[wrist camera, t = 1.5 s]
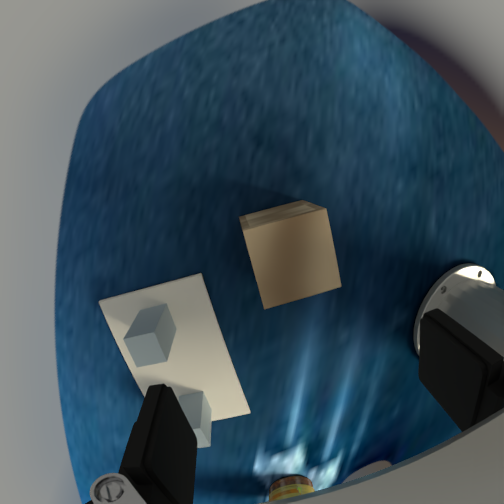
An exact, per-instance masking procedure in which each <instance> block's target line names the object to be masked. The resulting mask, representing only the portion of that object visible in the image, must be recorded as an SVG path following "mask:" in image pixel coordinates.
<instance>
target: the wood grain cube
mask: <svg viewBox="0 0 504 504" xmlns="http://www.w3.org/2000/svg"><path fill="white" fill-rule="evenodd" d="M239 219H240V223H241V227H242V230H243V234H244V237H245V241H246V245H247V248H248V252H249V256H250V259H251V263H252V266H253V270H254V274H255V277H256V281H257V285H258V288H259V292H260V295H261V299H262V303H263V306H264V309H267V308H271V307H275V306H278V305H282V304H285V303H289V302H292V301H295V300H299V299H302V298H306V297H309V296H312V295H316V294H319V293H322V292H326V291H329V290H332V289H335V288H339V287H341V281H340V275H339V270H338V264H337V259H336V254H335V249H334V244H333V239H332V234H331V229H330V224H329V219H328V215H327V210H326V208H323V207H321V206H318V205H315V204H312V203H310V202H307V201H304V200H300V201H296V202H292V203H289V204H285V205H281V206H277V207H273V208H270V209H266V210H262V211H258V212H255V213H251V214H247V215H244V216H240V217H239Z"/></svg>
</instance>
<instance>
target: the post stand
mask: <svg viewBox="0 0 504 504" xmlns="http://www.w3.org/2000/svg"><path fill="white" fill-rule="evenodd" d="M99 304H100V307H101V309H102V311H103V314H104V316H105V318H106V321H107V323H108V325H109V327H110V330H111V332H112V334H113V336H114V338H115V340H116V343H117V345H118V347H119V349H120V351H121V353H122V355H123V357H124V359H125V361H126V363H127V365H128V367H129V369H130V371H131V373H132V375H133V377H134V379H135V380H136V382H137V384H138V386H139V388H140V390H141V392H142V393H143V395H144V397H145V395H146V392H147V389H148V387H149V386H150V385H157V384H163V383H164V384H165V385H166V386H167V387H169V386H170V387H171V388H172V389H173V391H174V394H175V396H176V398H177V400H178V402H179V404H180V406H181V408H182V410H183V412H184V414H185V416H186V418H187V420H188V422H189V424H190V425H191V427H192V429H193V431H194V433H195V435H196V438H197V448H202V447H208V446H210V442H211V421H215V420H220V419H225V418H230V417H235V416H240V415H244V414H249V413H250V409H249V406H248V404H247V401H246V398H245V396H244V393H243V390H242V388H241V385H240V383H239V380H238V377H237V374H236V372H235V369H234V366H233V364H232V361H231V358H230V355H229V353H228V350H227V347H226V344H225V341H224V339H223V336H222V333H221V330H220V327H219V324H218V321H217V318H216V316H215V313H214V310H213V307H212V304H211V301H210V298H209V295H208V292H207V289H206V286H205V283H204V280H203V277H202V273H199V274H195V275H192V276H188V277H184V278H181V279H177V280H173V281H170V282H166V283H162V284H159V285H155V286H151V287H147V288H144V289H140V290H136V291H133V292H129V293H125V294H121V295H118V296H114V297H110V298H107V299H103V300H100V301H99Z"/></svg>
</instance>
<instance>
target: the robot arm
mask: <svg viewBox="0 0 504 504" xmlns="http://www.w3.org/2000/svg"><path fill="white" fill-rule="evenodd" d="M413 340H414V346H415V349H416V352H417V354H418V355H419V379H420V381H421V382H422V384H423V385H424V386H425V387H426V388H427V389H428V391H429V392H430V393H431V394H432V395H433V397H434V398H435V399H436V400H437V401H438V403H439V404H440V405H441V406H442V407H443V409H444V410H445V411H446V412H447V413H448V415H449V416H450V417H451V418H452V420H453V421H454V422H455V423H456V425H457V426H458V427H459V428H460V429H461V431H462V433H460V434H458V435H456V436H454V437H452V438H451V439H449V440H447V441H445V442H443V443H441V444H439V445H437V446H435V447H433V448H431V449H429V450H427V451H425V452H423V453H420V454H418V455H416V456H414V457H412V458H409V459H407V460H405V461H402V462H400V463H398V464H395V465H393V466H390V467H388V468H385V469H383V470H380V471H378V472H375V473H372V474H369V475H367V476H364V477H361V478H358V479H355V480H352V481H349V482H346V483H343V484H339V485H336V486H333V487H329V488H326V489H322V490H318V491H315V492H311V493H307V494H303V495H299V496H294V497H290V498H285V499H281V500H276V501H270V502H265V503H259V504H504V290H502V289H500V288H498V287H496V284H495V281H494V279H493V277H492V275H491V274H490V273H489V271H488V270H486V269H485V268H483V267H481V266H479V265H476V264H471V263H467V264H461V265H459V266H456V267H454V268H452V269H451V270H449V271H448V272H446V273H445V274H444V275H443V276H442V277H441V278H439V279H438V280H437V282H436V283H435V284H434V285H433V286H432V288H431V289H430V290H429V292H428V293H427V295H426V297H425V298H424V300H423V302H422V304H421V306H420V308H419V311H418V314H417V317H416V320H415V326H414V336H413ZM196 456H197V438H196V435H195V433H194V431H193V429H192V427H191V425H190V424H189V422H188V420H187V418H186V416H185V414H184V412H183V410H182V408H181V406H180V404H179V402H178V400H177V398H176V396H175V394H174V391H173V389H172V388H171V387H170V386H169V387H167V386H166V385H165V384H164V383H163V384H157V385H150V386H149V387H148V389H147V392H146V395H145V398H144V401H143V404H142V407H141V410H140V413H139V416H138V419H137V421H136V422H135V423H134V425H133V428H132V431H131V434H130V437H129V440H128V443H127V446H126V450H125V453H124V456H123V459H122V462H121V466H120V469H119V472H118V473H109V474H105V475H103V476H101V477H99V478H98V479H96V481H95V482H94V483H93V484H92V486H91V488H90V497H91V499H92V500H91V501H89V502H87V503H86V504H193V494H194V481H195V468H196Z"/></svg>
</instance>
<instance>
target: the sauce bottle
mask: <svg viewBox="0 0 504 504" xmlns="http://www.w3.org/2000/svg"><path fill="white" fill-rule="evenodd" d="M311 492H315V491H314V489H313V485H312V482H311V481H310V480H309V479H308V478H307V477H303V476H290V477H286V478H282V479H280V480H277V481H275V482H274V483H273V484H272V485H271V487H270V490H269V502H270V501H276V500H281V499H285V498H290V497H294V496H299V495H303V494H307V493H311Z"/></svg>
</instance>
